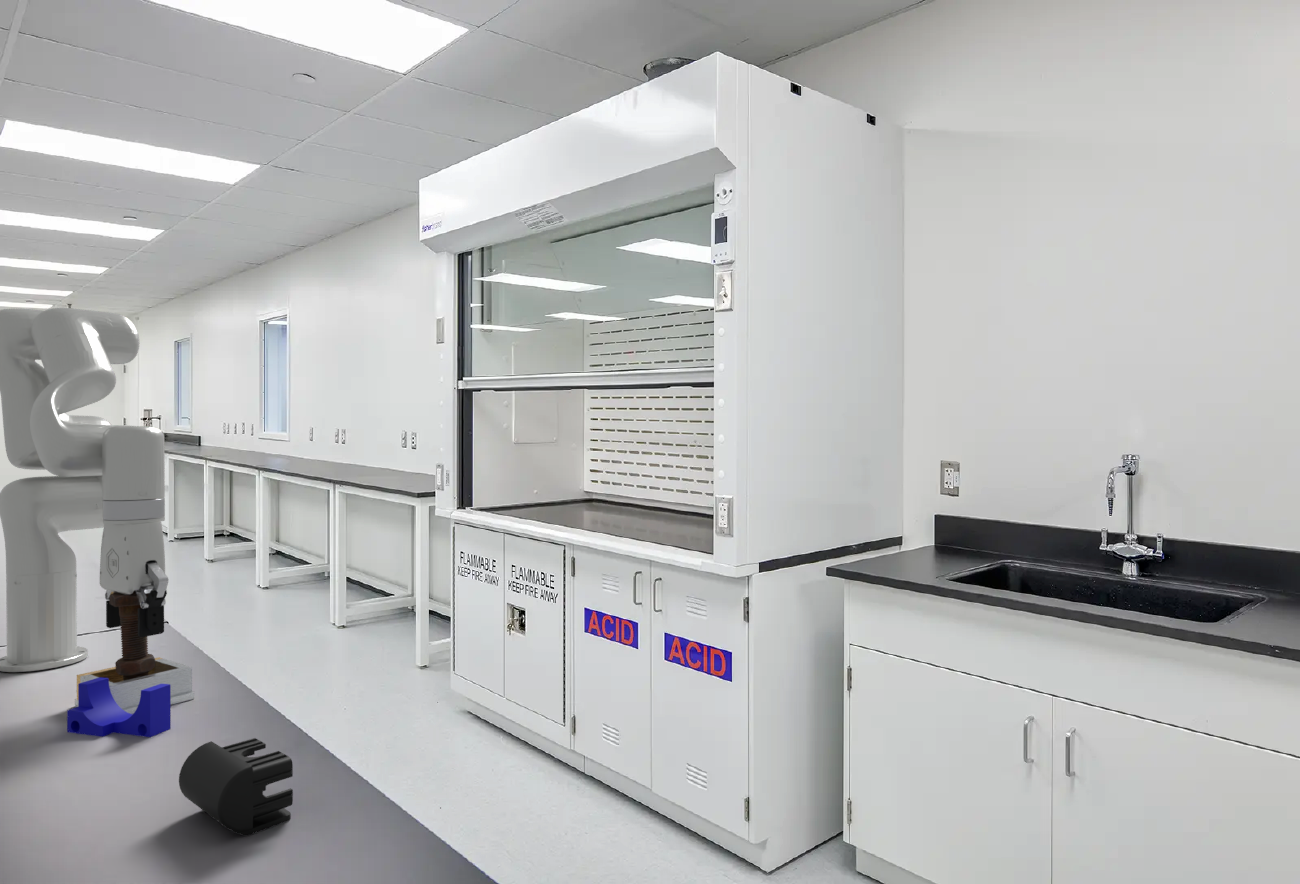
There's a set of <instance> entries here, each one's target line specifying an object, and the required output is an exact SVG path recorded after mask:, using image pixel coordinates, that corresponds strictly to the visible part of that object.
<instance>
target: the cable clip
mask: <svg viewBox="0 0 1300 884" xmlns="http://www.w3.org/2000/svg"><path fill="white" fill-rule="evenodd" d="M171 707H172V705H171V684H159V685H156V686H153V687H150V688H147V689H144V690H141V697H140V702H139V705H138V707H137V709H136V711H135V712H134V714H130V713H127V712H126V711H124V710H123V709H121V708H120V707H119V706H118V704H117V703H116V702H115V700H114V698H113V696H112V694H111V691H110V687H109V678H102V677H99V678H96V679H93V680H89V681H86V682H83V683H79V684H78V707H76V706H75V707H73V708H70V709H66V716H67V717H66V721H67V722H66V723H67V724H66V731H67V733H69V734H70V733H71V734H77V735H86V736H92V737H101V738H103V737H106V736H108V735H112V734H114V733H115V734H123V735H128V736H130V735H131V736H137V737H145V738H152V737H154V736H157V735H160V734H162V733H165V732H166V731H169V730H171V726H172V725H171V722H172V721H171V713H172V712H171Z"/></svg>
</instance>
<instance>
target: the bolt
mask: <svg viewBox="0 0 1300 884" xmlns="http://www.w3.org/2000/svg"><path fill="white" fill-rule="evenodd" d="M148 595H149V593H146V597H148ZM109 603H110V604H111V605H113V606H114V607H119V616H120V619H121V620H120V621H121V622H120V623H121V625H120V633H121V634H120V640H121V641H120V642H121V643H120V645H121V654H122V655H121V658H118V659H117V660H116V661H115V663H114V664H115V665H114V666H115V667H116V672H117V673H118V674H119V675H124V676H123V677H124V678H123V681H125V680H130V679H134V678H138V677H143V676H147V675H149V673H148V672H149V671H150V670H152V669H153V668H154V667H155V658H156V657H155V656H154V655H153V654H152V653H149V646H148V644H149V643H148V642H149V641H148V636H146V637H139V636H138V608H141V605H140V603H139V600H138V597H137V594H136V592H135V590H134V592H133V593H132V594H128V595H126V594H121V593H116V592H115V593H113V594H111V595H110V596H109Z"/></svg>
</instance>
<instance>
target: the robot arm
mask: <svg viewBox="0 0 1300 884" xmlns="http://www.w3.org/2000/svg"><path fill="white" fill-rule="evenodd" d="M139 351H140V336H139V332H138V329H137V327H136V325H135V324H134V323H133V322H132V321H131V319H129V318H128V317H126V316H125V315H123V314H120V313H116V312H115V313H114V312H109V311H108V312H107V311H98V310H92V309H91V310H89V309H81V308H73V307H72V308H70V307H55V308H54V307H53V308H49V309H46V310H43V309H42V310H41V309H33V308H4V309H0V400H1V412H2V413H1V416H2V427H3V435H4V436H3V437H4V447H5V451H6V452H5V453H6V458H7V459H8V462H9V463H10V464H11V465H12V466H14V467H15V468H18V469H24V470H31V471H32V470H35V471H37V470H38V471H39V470H40V471H41V470H44V471H45V470H46V471H47V472H49V473H50V474H52V475H51V476H50V475H47V476H31V477H23V478H19V479H16V480H12V481H11V482H9V483H8V484H6V485H5V486H4V487H2V489H1V490H0V522H1V527H2V533H3V537H4V549H5V578H6V579H5V581H6V582H5V584H6V586H5V587H6V588H5V589H6V590H5V591H6V593H5V594H6V595H5V596H6V601H5V604H6V611H5V612H6V618H5V619H6V655H5V656H2V657H0V672H2V673H3V672H6V673H25V672H26V673H27V672H36V671H43V670H49V669H54V668H55V669H56V668H59V667H61V668H62V667H65V666H69V665H72V664H75V663H78V662H81V661H83V660H85V659H86V658H87V657H88V656H89V650H88V648H86V647H83V646H78V640H77V639H78V630H77V629H78V627H77V626H78V625H77V624H78V623H77V622H78V621H77V617H78V616H77V615H78V613H77V611H78V610H77V609H78V605H77V602H78V597H77V596H78V595H77V594H78V593H77V584H78V583H77V582H78V581H77V575H78V574H77V557H76V554H75V552H74V550H73V549H72V547H71V546H70V545H69V544H68V543H67V542H66V541H64V540H63V539H62V538H61V537H60V535H59V533H63V532H68V531H69V532H71V531H81V530H82V531H83V530H94V529H102V528H103V529H102V535H101V545H100V547H101V548H100V559H99V560H100V561H99V562H100V563H99V586H100V587H101V588H102V589H104V590H105V593H104V598H105V600H106V601H105V605H106V606H105V610H106V611H105V615H106V616H105V626H106V628H108V629H114V628H117V627H118V628H119V627H120V628H121V626H120V625H121V623H120V622H121V621H120V620H121V619H120V616H119V607H114V606H113V605H111V604H110V603H109V596H110V595H111V594H113V593H115V592H116V593H121V594H126V595H128V594H132V593H133V592H134V590H135V592H136V594H137V597H138V600H139V603H140V605H141V608H138V636H139V637H146V636H147V637H152V636H157V635H161V634H163V633H164V632H165V606H166V596H167V595H168V591H167V590H168V589H167V588H168V585H169V577H168V575H167V574H166V554H165V553H166V552H165V551H166V550H165V540H164V533H163V532H164V531H163V525H162V524H163V523H162V522H164V521H165V520H166V516H165V515H166V504H165V503H166V501H165V497H166V495H165V493H166V492H165V490H166V489H165V482H166V481H165V478H166V476H165V465H166V464H165V435H164V432H163V431H162V430H161V428H158V427H156V426H147V425H145V426H143V425H140V426H139V425H113V424H111V423H110V422H109V420H107V419H105V418H103V417H99V416H95V415H73V414H72V415H71V414H70V415H69V414H67V413H69V412H71V411H75V410H77V409H80V408H83V407H87V406H89V405H93V404H95V403H98V402H99V401H101V400H103V399H105V398H106V397H108V396H109V395H110V394H111V393H112V392H113V390H114V389H115V387H116V384H117V376H116V372H115V371H114V368H113V367H112V365H124V364H125V365H126V364H128V363H131V362H132V361H133V360H134V359H135V358H136V356H137V355H138V353H139ZM36 360H37V361H39V360H40V361H41V363H42V365H43V366H42V365H40V364H39V363H38V362H36ZM53 475H54V476H53ZM146 593H149V595H148V597H146Z"/></svg>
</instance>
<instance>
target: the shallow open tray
mask: <svg viewBox="0 0 1300 884" xmlns="http://www.w3.org/2000/svg"><path fill="white" fill-rule="evenodd" d="M154 658H155V667H154V668H153V669H152V670H150V671H149V672H148V673H149V675H147V676H143V677H138V678H134V679H130V680H125V681H123V678H124V677H123V676H124V675H119V674H118V673H117V672H116V666H112V667H108V668H104V669H103V668H102V669H98V670H93V671H88V672H84V673H80V674H76V698H75V699H74V707H75V708H76V707H78V684H79V683H83V682H86V681H89V680H93V679H96V678H99V677H102V678H109V687H110V691H111V694H112V696H113V698H114V700H115V702H116V703H117V704H118V706H119V707H120V708H121V709H123V710H124V711H126V712H127V713H130V714H134V712H135V711H136V709H137V707H138V705H139V702H140V697H141V690H144V689H147V688H150V687H153V686H156V685H159V684H171V706H172V705H175V704H180V703H182V702H187V701H191V700H194V699H195V691H193V667H192V666H189V665H186V664H181V663H180V662H179V663H178V662H176V661H172V660H169V659H166V658H162V657H154Z"/></svg>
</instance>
